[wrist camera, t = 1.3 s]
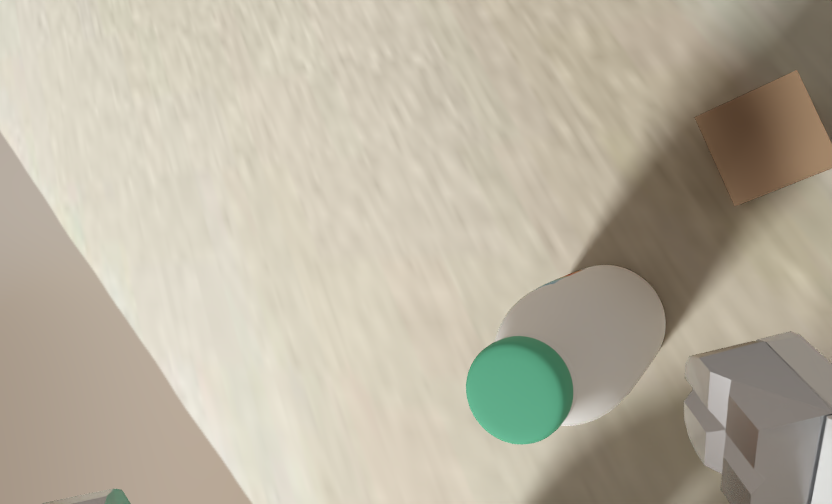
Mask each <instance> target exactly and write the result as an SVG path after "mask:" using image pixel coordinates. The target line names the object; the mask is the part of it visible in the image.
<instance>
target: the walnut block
mask: <svg viewBox="0 0 832 504" xmlns="http://www.w3.org/2000/svg"><path fill="white" fill-rule="evenodd" d="M695 120H696V122H697V124H698V126H699V128H700V131H701V133H702V135H703V137H704V140H705V142H706V144H707V146H708V148H709V151H710V153H711V155H712V157H713V160H714V162H715V164H716V166H717V168H718V171H719V173H720V175H721V177H722V179H723V182H724V184H725V186H726V188H727V191H728V193H729V195H730V197H731V199H732V202H733V204H734V206H737V205H740V204H743V203H745V202H748V201H750V200H753V199H755V198H758V197H760V196H763V195H765V194H768V193H770V192H773V191H776V190H778V189H781V188H783V187H786V186H788V185H791V184H793V183H796V182H798V181H801V180H803V179H806V178H808V177H811V176H814V175H816V174H819V173H821V172H824V171H826V170H829V169H831V168H832V143H831V141H830V139H829V137H828V135H827V132H826V130H825V128H824V126H823V124H822V122H821V120H820V118H819V115H818V113H817V111H816V109H815V107H814V105H813V103H812V101H811V99H810V96H809V94H808V92H807V90H806V88H805V86H804V84H803V82H802V79H801V77H800V75H799V73H798V71H797V70H796V71H794V72H791V73H789V74H787V75H785V76H783V77H781V78H778V79H776V80H774V81H772V82H770V83H768V84H765V85H763V86H761V87H759V88H757V89H755V90H752V91H750V92H748V93H746V94H744V95H742V96H739V97H737V98H735V99H733V100H731V101H729V102H726V103H724V104H722V105H720V106H718V107H716V108H713V109H711V110H709V111H707V112H705V113H703V114H701V115H698V116H696V117H695Z"/></svg>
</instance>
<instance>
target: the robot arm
mask: <svg viewBox="0 0 832 504" xmlns="http://www.w3.org/2000/svg"><path fill="white" fill-rule="evenodd" d="M685 379H686V380H687V381H688V383H689V384H690V385H691V387H692V388H693V390H692V391H691V393H690V394H689V395H688V397H687V398H686V399H685V401H684V421H685V425H686V429H687V433H688V437H689V439H690V441H691V443H692V445H693V448H694V450H695V452H696V453H697V455H698V456H699V458H700V459H701V461H702V462H703V464H704V465H705V466H707V467H709V468H711V469H713V470H715V471H717V472H719V473H721V474H722V481H721V490H722V492H723V493H724V495H725V496H726V498H727V499H728V501H729V502H730V504H832V364H831V363H830V362H829V361H828V360H827V359H826V358H825V357H824V356H823V355H822V354H820V353H819V352H818V351H817V350H816V349H815V348H814V347H813V346H812V345H811V344H810V343H809V342H807V341H806V340H805V339H804V338H803V337H802V336H801V335H799V334H797V333H794V332H791V331H790V332H786V333H782V334H778V335H774V336H770V337H766V338H762V339H758V340H756V341H751V342H747V343H742V344H738V345H734V346H730V347H726V348H721V349H717V350H713V351H709V352H705V353H700V354H696V355H692V356H689V358H688V360H687V363H686V368H685ZM43 504H130V502H129V501H128V499H127V497H126V496H125V494H124V492H123V491H122V490H120V489H110V490H105V491H100V492H95V493H91V494H85V495H81V496H75V497H71V498H66V499H61V500H56V501H51V502H46V503H43Z"/></svg>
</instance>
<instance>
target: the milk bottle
mask: <svg viewBox="0 0 832 504" xmlns="http://www.w3.org/2000/svg"><path fill="white" fill-rule="evenodd" d="M665 330H666V319H665V312H664V308H663V305H662V303H661V300H660V298H659V297H658V295H657V293H656V292H655V290H654V289H653V288H652V287H651V285H650V284H649V283H648V282H647V281H646V280H644V279H643V278H642V277H641V276H639V275H638V274H636V273H634V272H632V271H630V270H628V269H626V268H622V267H619V266H614V265H597V266H591V267H587V268H584V269H581V270H579V271H576V272H574V273H571V274H569V275H566V276H564V277H561V278H559V279H556V280H554V281H552V282H550V283H547V284H545V285H543V286H541V287H539V288H537V289H535V290H534V291H532V292H530V293H529V294H527V295H525V296H524V297H523V298H522V299H520V300H519V301H518V302H517V303H516V304H515V305H514V306H513V307H512V308H511V309H510V311H509V312H508V313H507V315H506V316H505V318H504V319H503V321H502V323H501V325H500V327H499V329H498V332H497V335H496V339H495V342H494V343H492V344H491V345H489V346H488V347H486V348H485V349H484V350H482V351H481V352H480V353H479V354H478V356H477V357H476V358H475V360H474V361H473V363H472V365H471V367H470V370H469V372H468V376H467V381H466V393H467V399H468V403H469V406H470V409H471V411H472V413H473V415H474V417H475V418H476V420H477V421H478V422H479V424H480V425H481V426H482V427H483V428H484V429H485V430H486V431H487V432H489V433H490V434H491V435H493V436H494V437H496V438H498V439H500V440H502V441H505V442H508V443H512V444H530V443H535V442H538V441H541V440H543V439H545V438H547V437H548V436H550V435H551V434H552V433H553V432H554V431H556V430H557V429H558V428H559V427H560V426H573V425H579V424H584V423H587V422H591V421H593V420H596V419H598V418H600V417H602V416H603V415H605V414H607V413H608V412H610V411H611V410H613V409H614V408H615V407H616V406H617V405H619V403H620V402H621V401H622V400H623V399H624V398H625V397H626V396H627V395H628V394H629V393H630V391H631V390H632V389H633V387H634V386H635V385H636V383H637V382H638V381H639V379H640V378H641V377H642V375H643V374H644V372H645V371H646V370H647V368H648V367H649V365H650V364H651V362H652V361H653V360H654V358H655V357H656V355H657V353H658V351H659V349H660V347H661V345H662V343H663V340H664V336H665Z"/></svg>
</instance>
